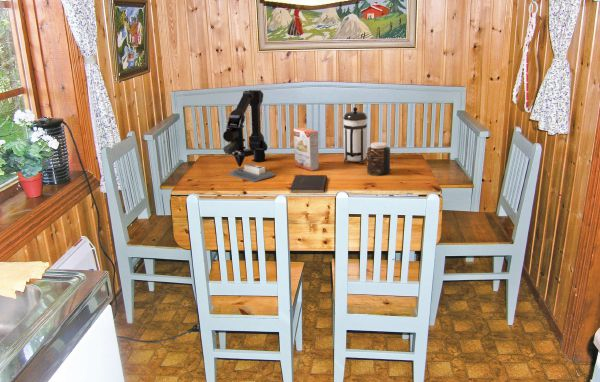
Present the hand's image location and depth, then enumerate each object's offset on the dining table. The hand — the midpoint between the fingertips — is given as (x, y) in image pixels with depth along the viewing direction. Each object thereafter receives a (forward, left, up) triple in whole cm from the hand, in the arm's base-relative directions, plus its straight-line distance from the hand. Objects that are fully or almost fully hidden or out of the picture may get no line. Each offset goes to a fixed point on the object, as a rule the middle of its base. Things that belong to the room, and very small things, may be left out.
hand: (239, 166), depth 295 cm
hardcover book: (+45, +7, -4) cm, 45 cm away
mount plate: (+9, 0, -3) cm, 10 cm away
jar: (+57, +45, -3) cm, 73 cm away
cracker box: (+22, +28, -3) cm, 36 cm away
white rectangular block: (+12, 0, -2) cm, 12 cm away
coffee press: (+35, +53, -3) cm, 64 cm away
